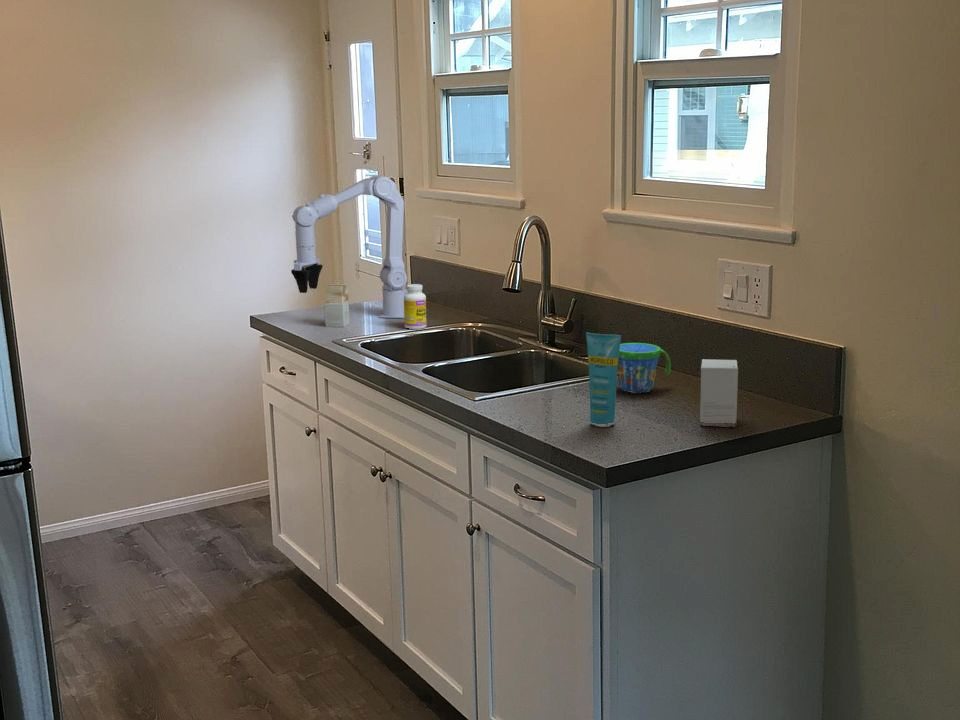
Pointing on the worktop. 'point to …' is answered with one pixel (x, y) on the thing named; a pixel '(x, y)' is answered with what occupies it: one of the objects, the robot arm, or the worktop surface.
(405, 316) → the supplement bottle
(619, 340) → the tube
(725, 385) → the supplement box
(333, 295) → the block
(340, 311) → the skincare box
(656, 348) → the snack cup
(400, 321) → the worktop surface
